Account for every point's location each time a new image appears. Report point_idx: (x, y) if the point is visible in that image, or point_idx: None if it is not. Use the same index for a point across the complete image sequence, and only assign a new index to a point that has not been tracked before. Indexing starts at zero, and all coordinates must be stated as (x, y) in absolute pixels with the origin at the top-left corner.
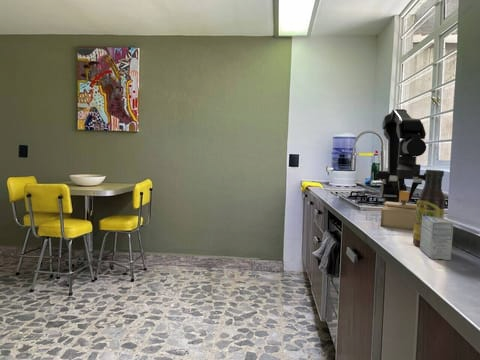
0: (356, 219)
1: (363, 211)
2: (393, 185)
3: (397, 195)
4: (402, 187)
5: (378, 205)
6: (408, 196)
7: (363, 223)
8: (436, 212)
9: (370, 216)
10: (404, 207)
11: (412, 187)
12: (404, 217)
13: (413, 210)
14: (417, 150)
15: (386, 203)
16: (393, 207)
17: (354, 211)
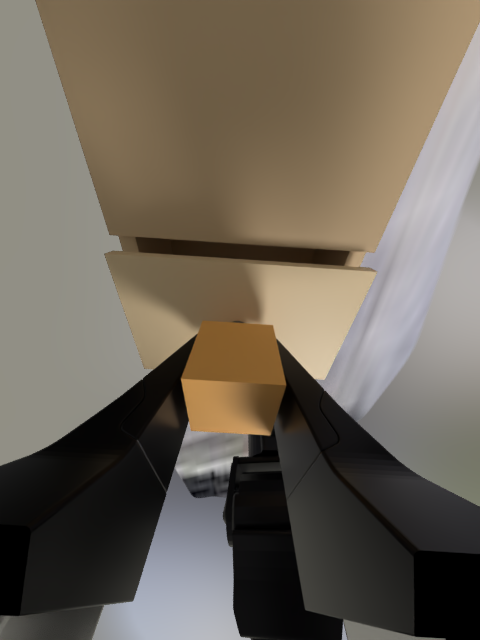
0: (447, 239)
1: (344, 403)
2: (410, 471)
3: (291, 360)
4: (242, 516)
5: None
6: (197, 343)
7: (467, 111)
8: None
9: (345, 342)
10: None
11: (114, 443)
12: None
13: (157, 148)
14: None
15: (353, 294)
16: (309, 235)
17: (377, 393)
